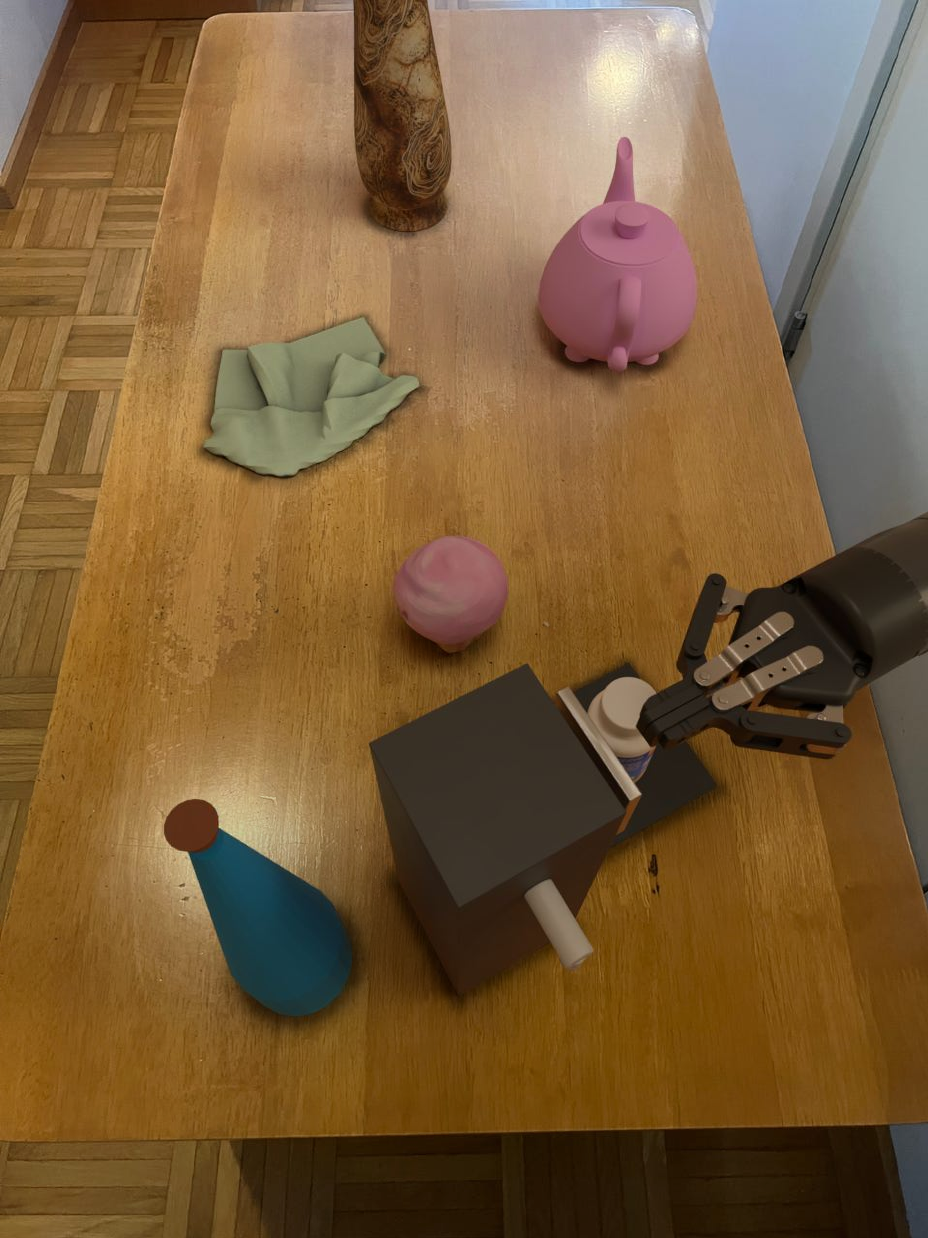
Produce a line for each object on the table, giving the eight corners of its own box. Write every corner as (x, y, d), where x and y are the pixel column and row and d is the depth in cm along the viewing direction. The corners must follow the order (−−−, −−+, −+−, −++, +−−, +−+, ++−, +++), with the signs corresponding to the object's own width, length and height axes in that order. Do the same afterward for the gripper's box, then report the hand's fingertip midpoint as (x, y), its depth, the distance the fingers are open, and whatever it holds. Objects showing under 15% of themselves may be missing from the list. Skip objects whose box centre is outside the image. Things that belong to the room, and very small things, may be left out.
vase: (451, 236, 103) (448, -73, 77) (355, 236, 103) (320, -73, 77) (452, 178, 108) (449, -131, 82) (361, 177, 108) (329, -131, 82)
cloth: (183, 470, 86) (176, 453, 84) (238, 307, 97) (233, 288, 95) (400, 490, 85) (398, 473, 83) (431, 323, 96) (430, 305, 94)
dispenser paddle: (624, 830, 52) (642, 794, 47) (612, 837, 52) (629, 801, 47) (558, 729, 55) (568, 685, 50) (546, 735, 55) (555, 691, 50)
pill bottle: (650, 790, 70) (676, 740, 62) (579, 790, 70) (595, 739, 62) (643, 724, 73) (667, 667, 65) (574, 724, 73) (589, 667, 65)
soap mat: (716, 787, 71) (718, 785, 71) (584, 863, 68) (585, 861, 68) (627, 665, 76) (629, 662, 76) (501, 731, 73) (502, 728, 73)
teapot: (537, 249, 102) (547, 130, 90) (679, 255, 102) (708, 135, 90) (533, 398, 91) (545, 284, 79) (693, 405, 91) (728, 291, 79)
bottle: (328, 888, 67) (238, 716, 41) (370, 983, 64) (301, 864, 38) (232, 936, 66) (73, 790, 39) (270, 1037, 62) (124, 951, 36)
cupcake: (456, 567, 81) (456, 497, 72) (526, 631, 78) (534, 566, 69) (378, 627, 78) (367, 561, 69) (447, 696, 75) (445, 636, 66)
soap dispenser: (601, 984, 64) (679, 890, 42) (488, 1054, 62) (505, 995, 39) (505, 822, 70) (527, 662, 47) (398, 881, 67) (368, 742, 45)
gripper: (830, 486, 56) (587, 608, 51) (993, 657, 50) (735, 810, 46) (791, 556, 62) (573, 670, 58) (931, 715, 56) (701, 853, 52)
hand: (645, 732), depth 52 cm, fingers closed
